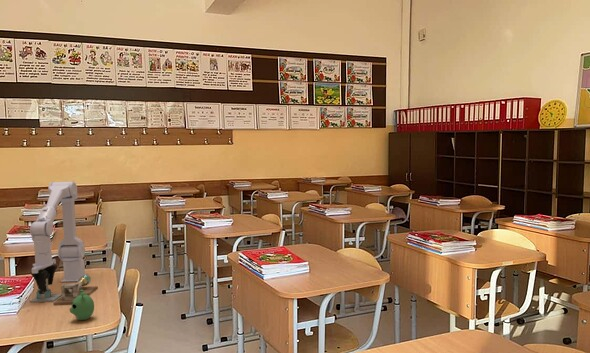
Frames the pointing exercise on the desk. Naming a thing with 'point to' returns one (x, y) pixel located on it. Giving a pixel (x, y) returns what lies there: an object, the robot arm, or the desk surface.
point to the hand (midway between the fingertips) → (45, 286)
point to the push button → (44, 290)
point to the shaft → (80, 283)
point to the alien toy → (82, 306)
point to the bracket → (69, 298)
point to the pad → (49, 299)
